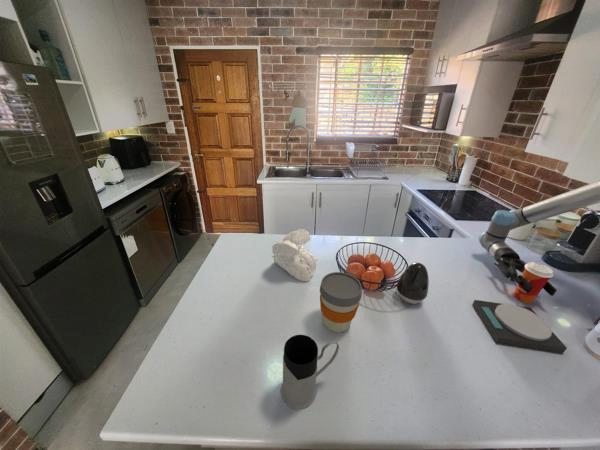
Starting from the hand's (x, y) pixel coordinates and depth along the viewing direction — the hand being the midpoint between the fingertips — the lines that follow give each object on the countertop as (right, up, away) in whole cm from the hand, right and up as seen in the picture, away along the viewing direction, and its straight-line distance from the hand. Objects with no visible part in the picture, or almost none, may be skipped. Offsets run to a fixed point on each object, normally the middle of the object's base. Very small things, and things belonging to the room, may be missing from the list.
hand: (541, 291), depth 85 cm
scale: (-14, -10, -5) cm, 18 cm away
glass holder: (-81, -18, -23) cm, 86 cm away
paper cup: (+1, -5, +8) cm, 9 cm away
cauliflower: (-86, +4, +20) cm, 89 cm away
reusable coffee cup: (-72, -9, -5) cm, 72 cm away
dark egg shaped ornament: (-43, -4, +6) cm, 44 cm away
